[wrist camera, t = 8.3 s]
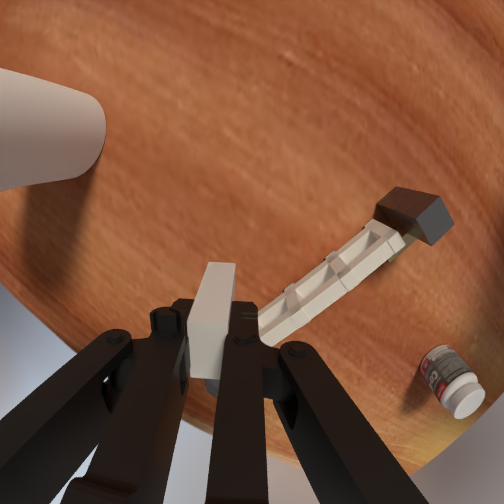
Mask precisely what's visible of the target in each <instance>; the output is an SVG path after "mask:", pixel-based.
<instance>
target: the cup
mask: <svg viewBox="0 0 504 504" xmlns="http://www.w3.org/2000/svg"><path fill="white" fill-rule="evenodd" d="M105 136H106V119H105V115H104V112H103V109H102V107H101V105H100V104H99V102H98V101H97V100H96V99H95V98H94V97H92V96H90V95H88V94H86V93H83V92H80V91H77V90H74V89H71V88H68V87H65V86H62V85H58V84H55V83H52V82H49V81H45V80H42V79H39V78H35V77H32V76H28V75H25V74H21V73H17V72H13V71H10V70H6V69H2V68H0V191H3V190H8V189H13V188H18V187H23V186H29V185H34V184H40V183H46V182H52V181H59V180H65V179H72V178H75V177H78V176H80V175H82V174H83V173H85V172H86V171H87V170H88V169H90V167H91V166H92V165H93V164H94V163H95V161H96V160H97V158H98V156H99V155H100V153H101V150H102V148H103V145H104V141H105Z"/></svg>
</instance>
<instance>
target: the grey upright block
mask: <svg viewBox="0 0 504 504" xmlns="http://www.w3.org/2000/svg"><path fill="white" fill-rule="evenodd" d="M377 205H378V206H379V208H380V209H381V211H382V212H383V214H384V215H385V217H386V218H387V220H388V221H389V223H390V224H391V225H392V226H394V227H393V228H392V229H394V230H396V231H397V232H398V233H399V234H400V236H401V238H402V239H403V241H404V243H405V244H406V245H405V246H404V247H403V248H401V249H400V250H399V251H398V252H397V253H395V254H393V255H392V256H391V257H390V258H389V259H387V261H388V262H389V263H391V262H392V261H393V260H394V259H395V258H396V257H398V256H399V255H400V254H401V253H402V252H403V251H404V250H405V249H407V248H408V247H409V246H410V245H411V244H412V243H413V242H414V241H416V240H417V239H419V240H421V241H423V242H425V243H426V244H428V245H430V246H433V245H434V244H435V243H436V242H437V241H438V240H439V239H440V238H441V237H442V236H443V235H444V234H445V233H446V232H447V231H448V230H449V229H450V228H451V227H452V226H453V225H454V222H453V220H452V218H451V216H450V214H449V212H448V211H447V209H446V207H445V205H444V203H443V201H442V199H441V197H440V196H437V195H433V194H429V193H424V192H420V191H415V190H411V189H406V188H401V187H395V188H394V189H393V190H392V191H390V192H389V193H388V194H387V195H386V196H385V197H383V198H382V199H381V200H380V201H379V202H378V203H377Z"/></svg>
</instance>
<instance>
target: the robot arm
mask: <svg viewBox="0 0 504 504" xmlns="http://www.w3.org/2000/svg"><path fill="white" fill-rule="evenodd" d="M235 267H236V263H220V262H209V263H208V266H207V268H206V271H205V274H204V276H203V279H202V282H201V284H200V287H199V290H198V292H197V295H196V298H195V299H181V298H179V299H178V300H177V301H175V302H174V303H173V304H172V306H171V307H160V308H157V309H154V310H153V311H152V312H150V321H151V330H152V332H151V334H150V336H149V337H148V338H143V339H132V338H131V334H130V333H129V332H128V331H126V330H122V329H111V330H108V331H106V332H104V333H102V334H101V335H100V336H98V337H97V338H96V339H95V340H93V341H92V342H91V343H90V344H89V345H87V346H86V347H85V348H84V349H83V350H81V351H80V352H79V353H78V354H77V355H75V356H74V357H73V358H72V359H71V360H69V361H68V362H67V363H66V364H65V365H63V366H62V367H61V368H60V369H59V370H57V371H56V372H55V373H54V374H53V375H52V376H51V377H49V378H48V379H47V380H46V381H45V382H43V383H42V384H41V385H40V386H39V387H38V388H36V389H35V390H34V391H33V392H32V393H31V394H29V395H28V396H27V397H26V398H25V399H24V400H23V401H22V402H20V403H19V404H18V405H17V406H16V407H15V408H13V409H12V410H11V411H10V412H9V413H8V414H7V415H6V416H4V417H3V418H2V419H1V420H0V504H50V503H51V501H52V500H53V499H54V498H55V496H56V495H57V494H58V493H59V492H60V490H61V489H62V488H63V487H64V485H65V484H66V483H67V482H68V480H69V479H70V478H71V477H72V476H73V474H74V473H75V472H76V471H77V469H78V468H79V467H80V466H81V464H82V463H83V462H84V461H85V459H86V458H87V457H88V456H89V455H90V453H91V452H92V451H93V450H94V448H95V447H96V446H97V445H98V446H97V449H96V451H95V453H94V456H93V458H92V460H91V463H90V465H89V467H88V470H87V472H86V474H85V475H84V476H83V477H76V478H74V479H72V480H71V481H70V483H69V485H68V486H67V488H66V491H65V493H64V495H63V498H62V500H61V503H60V504H163V500H164V495H165V491H166V485H167V480H168V476H169V471H170V466H171V462H172V457H173V452H174V448H175V443H176V439H177V434H178V429H179V425H180V421H181V417H182V412H183V408H184V404H185V399H186V395H187V391H188V387H189V382H188V374H189V370H190V377H193V378H205V379H218V380H220V382H219V390H218V398H217V406H216V414H215V423H214V431H213V440H212V448H211V456H210V465H209V474H208V483H207V492H206V500H205V504H269V501H268V483H267V481H268V480H267V459H266V438H265V417H264V397H265V398H269V399H273V404H274V407H275V409H276V411H277V413H278V416H279V418H280V420H281V422H282V424H283V427H284V429H285V431H286V433H287V435H288V438H289V440H290V442H291V444H292V446H293V449H294V451H295V453H296V455H297V457H298V459H299V461H300V463H301V466H302V468H303V470H304V472H305V474H306V476H307V478H308V480H309V482H310V484H311V486H312V488H313V491H314V492H315V495H316V497H317V499H318V500H319V503H320V504H429V503H428V501H427V500H426V499H425V498H424V496H423V495H422V493H421V492H420V491H419V489H418V488H417V487H416V485H415V484H414V483H413V481H412V480H411V479H410V477H409V476H408V475H407V473H406V472H405V471H404V469H403V468H402V467H401V465H400V464H399V463H398V461H397V460H396V459H395V457H394V456H393V455H392V453H391V452H390V451H389V449H388V448H387V446H386V445H385V444H384V442H383V441H382V440H381V438H380V437H379V436H378V434H377V433H376V432H375V430H374V429H373V428H372V426H371V425H370V424H369V422H368V421H367V419H366V418H365V417H364V415H363V414H362V413H361V411H360V410H359V409H358V407H357V406H356V405H355V403H354V402H353V400H352V399H351V398H350V396H349V395H348V394H347V392H346V391H345V390H344V388H343V387H342V385H341V384H340V383H339V381H338V380H337V379H336V377H335V376H334V375H333V373H332V372H331V370H330V369H329V368H328V366H327V365H326V364H325V362H324V361H323V360H322V358H321V357H320V355H319V354H318V353H317V351H316V350H315V349H314V348H313V347H312V346H311V345H310V344H307V343H305V342H301V341H290V342H286V343H284V344H283V345H281V347H280V349H278V348H274V347H271V346H268V345H266V344H264V343H263V342H262V341H261V339H260V337H259V327H258V307H257V306H256V305H255V304H254V303H253V302H242V301H234V294H235ZM107 376H108V380H107V381H106V382H103V381H104V380H105V378H107ZM98 443H99V444H98Z"/></svg>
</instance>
